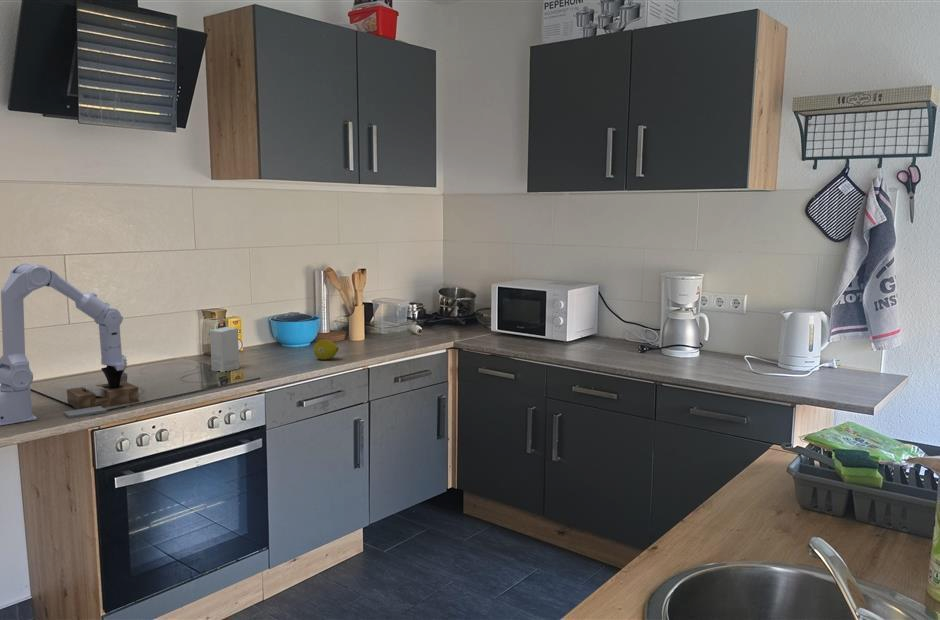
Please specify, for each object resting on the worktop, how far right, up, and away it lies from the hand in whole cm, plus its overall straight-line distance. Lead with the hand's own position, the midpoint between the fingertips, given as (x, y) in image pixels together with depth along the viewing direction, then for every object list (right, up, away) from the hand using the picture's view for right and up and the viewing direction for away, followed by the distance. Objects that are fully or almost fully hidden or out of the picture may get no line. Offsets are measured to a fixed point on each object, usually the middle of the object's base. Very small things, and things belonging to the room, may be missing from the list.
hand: (114, 389), depth 231 cm
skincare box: (+19, +2, +46) cm, 50 cm away
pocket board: (-3, -4, -2) cm, 5 cm away
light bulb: (-5, -2, +14) cm, 15 cm away
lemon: (+53, +5, +66) cm, 85 cm away
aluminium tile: (-3, -2, -2) cm, 4 cm away
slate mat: (-2, -5, -15) cm, 16 cm away
